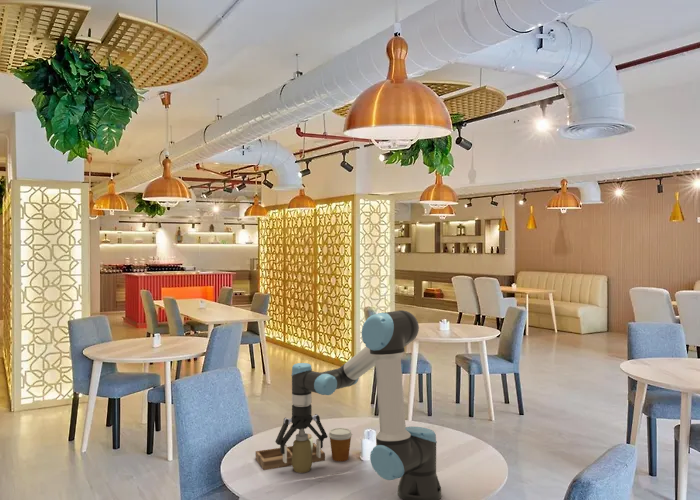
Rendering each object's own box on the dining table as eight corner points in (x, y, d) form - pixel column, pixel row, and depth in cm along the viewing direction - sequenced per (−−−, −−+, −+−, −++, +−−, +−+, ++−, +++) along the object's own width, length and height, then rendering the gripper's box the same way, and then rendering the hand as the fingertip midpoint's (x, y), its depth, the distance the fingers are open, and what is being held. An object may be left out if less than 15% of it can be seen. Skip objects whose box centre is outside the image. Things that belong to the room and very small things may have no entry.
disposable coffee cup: (349, 466, 234) (349, 435, 234) (326, 464, 236) (326, 434, 236) (354, 457, 244) (354, 428, 244) (331, 455, 246) (331, 427, 245)
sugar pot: (315, 458, 239) (315, 437, 239) (298, 461, 237) (298, 439, 237) (309, 453, 246) (309, 432, 246) (293, 455, 243) (293, 434, 243)
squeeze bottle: (288, 470, 230) (288, 423, 230) (308, 466, 234) (307, 421, 233) (295, 477, 223) (295, 429, 223) (315, 474, 226) (315, 427, 226)
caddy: (324, 462, 238) (324, 452, 238) (263, 472, 228) (263, 462, 228) (313, 452, 250) (313, 442, 250) (255, 461, 240) (255, 451, 240)
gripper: (328, 398, 236) (328, 451, 237) (267, 405, 227) (267, 460, 227) (335, 403, 229) (335, 457, 230) (272, 410, 220) (273, 467, 220)
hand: (301, 459), depth 228 cm, fingers open, 13 cm apart
